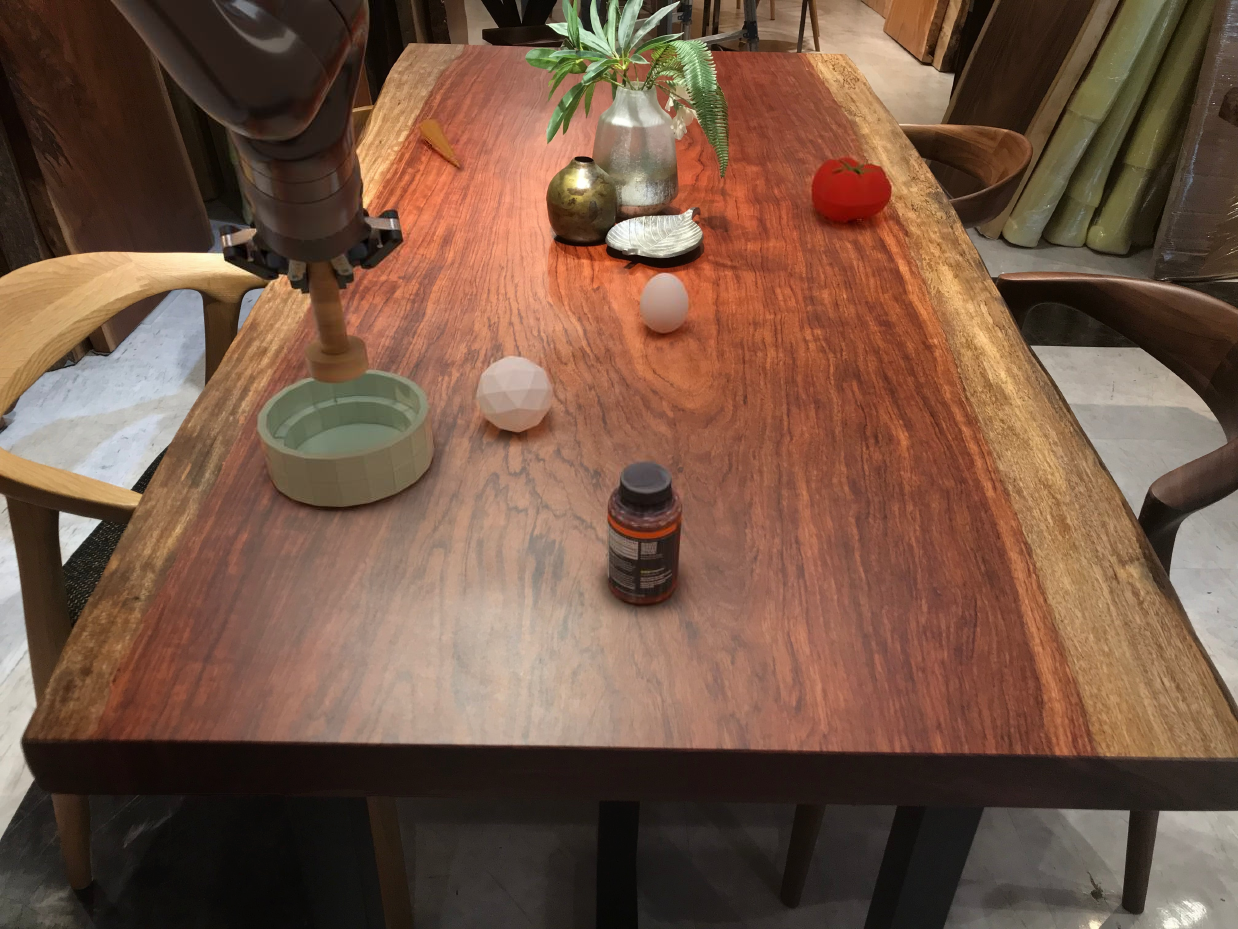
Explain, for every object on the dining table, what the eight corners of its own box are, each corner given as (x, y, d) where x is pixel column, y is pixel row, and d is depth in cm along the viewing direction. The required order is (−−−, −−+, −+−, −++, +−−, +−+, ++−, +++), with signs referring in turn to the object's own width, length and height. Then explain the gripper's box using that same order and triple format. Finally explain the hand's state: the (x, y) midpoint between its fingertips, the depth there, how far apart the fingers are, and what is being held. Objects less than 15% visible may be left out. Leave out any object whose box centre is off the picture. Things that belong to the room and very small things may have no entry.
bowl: (235, 489, 84) (220, 436, 81) (332, 406, 96) (322, 357, 93) (379, 528, 80) (370, 474, 77) (461, 436, 92) (457, 386, 89)
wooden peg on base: (295, 376, 78) (268, 250, 71) (331, 349, 82) (307, 228, 75) (347, 388, 76) (323, 261, 69) (380, 360, 80) (361, 237, 73)
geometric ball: (508, 456, 94) (464, 421, 88) (500, 396, 98) (458, 359, 92) (570, 428, 92) (530, 391, 86) (560, 368, 96) (521, 328, 90)
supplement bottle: (648, 549, 79) (653, 444, 72) (691, 589, 75) (701, 481, 68) (592, 576, 76) (593, 469, 69) (634, 618, 72) (639, 509, 65)
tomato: (896, 234, 140) (907, 178, 135) (815, 232, 140) (824, 176, 134) (875, 203, 151) (885, 150, 146) (801, 201, 151) (809, 148, 146)
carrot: (422, 143, 174) (412, 122, 171) (442, 132, 175) (432, 111, 171) (454, 185, 161) (444, 163, 158) (476, 173, 162) (466, 151, 158)
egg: (681, 318, 115) (685, 262, 110) (691, 340, 110) (696, 283, 106) (634, 320, 114) (636, 264, 109) (643, 343, 109) (645, 286, 105)
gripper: (398, 125, 62) (396, 231, 79) (182, 141, 58) (228, 248, 75) (419, 227, 61) (412, 312, 78) (200, 249, 57) (243, 333, 74)
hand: (322, 280), depth 76 cm, fingers closed on wooden peg on base, 2 cm apart
